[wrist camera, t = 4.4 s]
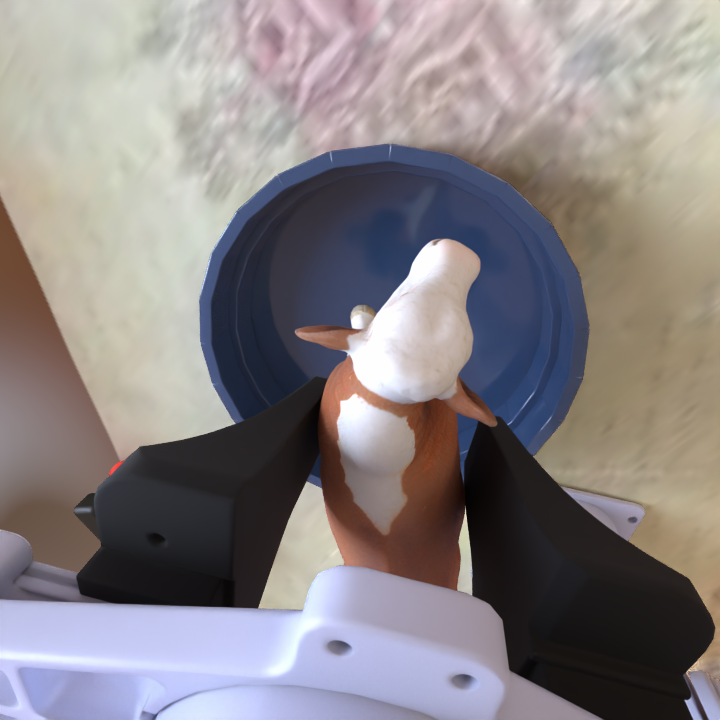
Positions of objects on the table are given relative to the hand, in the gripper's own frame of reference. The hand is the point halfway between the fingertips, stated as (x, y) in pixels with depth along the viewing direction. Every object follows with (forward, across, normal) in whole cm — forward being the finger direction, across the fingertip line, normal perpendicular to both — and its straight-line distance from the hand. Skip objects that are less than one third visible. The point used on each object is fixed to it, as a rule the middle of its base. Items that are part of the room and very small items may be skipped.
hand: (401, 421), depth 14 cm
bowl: (+10, +1, +1) cm, 10 cm away
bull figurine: (+3, 0, 0) cm, 4 cm away
